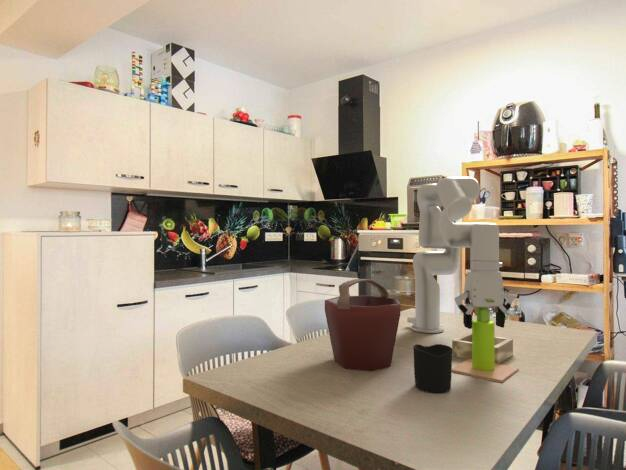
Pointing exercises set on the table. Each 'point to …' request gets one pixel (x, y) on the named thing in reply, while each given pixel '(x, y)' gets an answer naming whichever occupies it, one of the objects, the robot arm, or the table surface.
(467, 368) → the plate
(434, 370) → the pen holder
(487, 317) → the soap dispenser
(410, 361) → the table surface
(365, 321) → the bucket
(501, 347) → the open box
